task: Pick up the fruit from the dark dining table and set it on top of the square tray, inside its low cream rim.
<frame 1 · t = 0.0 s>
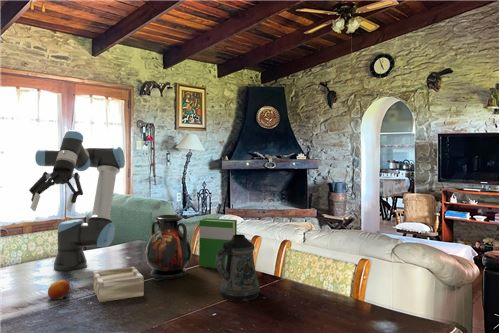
hand: (50, 209, 156), 36 cm above the table, tool tilted 35°, fingers open, 13 cm apart
square tray: (118, 292, 169), on the table
beer stein: (238, 296, 167), on the table
fruit: (59, 298, 162), on the table
hardback book: (217, 266, 210), on the table
amphora vase: (168, 275, 194), on the table
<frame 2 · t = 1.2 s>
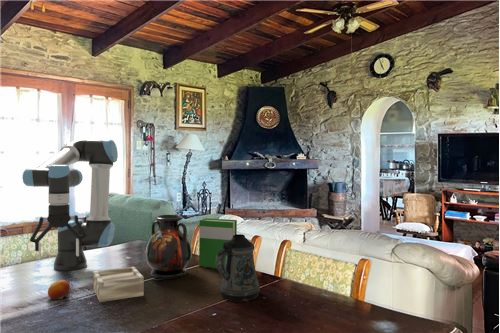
hand: (58, 257, 162), 16 cm above the table, tool pointing down, fingers open, 13 cm apart
nothing on the table moved.
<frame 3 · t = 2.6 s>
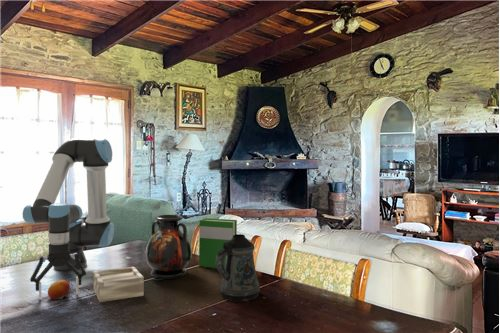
hand: (59, 295, 162), 1 cm above the table, tool pointing down, fingers open, 13 cm apart
nothing on the table moved.
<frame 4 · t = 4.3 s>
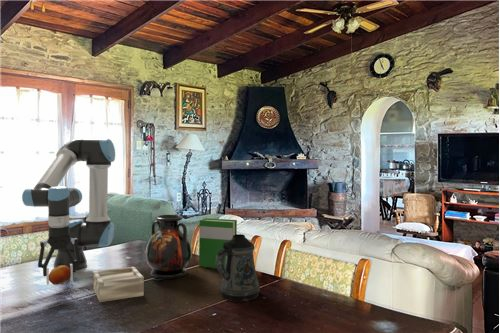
hand: (59, 282, 163), 6 cm above the table, tool pointing down, fingers closed on fruit, 8 cm apart
fruit: (60, 283, 163), point 5 cm above the table, touching gripper
everything else where it was.
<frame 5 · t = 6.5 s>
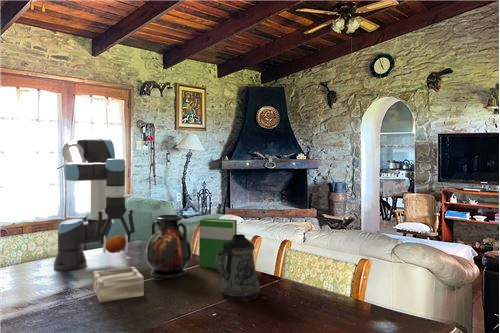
hand: (115, 251, 168), 17 cm above the table, tool pointing down, fingers closed on fruit, 8 cm apart
fruit: (115, 252, 168), point 17 cm above the table, touching gripper
everything else where it was.
when the fingers open (7 cm above the table, at t = 8.9 s): fruit drops 1 cm, resting on square tray.
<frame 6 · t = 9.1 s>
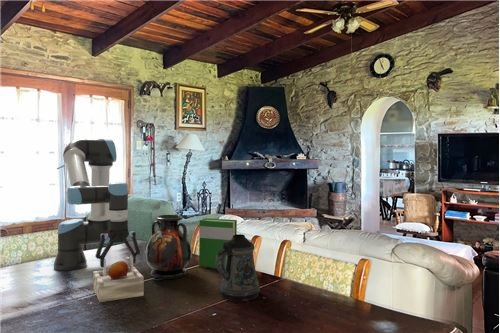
hand: (118, 272, 169), 8 cm above the table, tool pointing down, fingers open, 10 cm apart
fruit: (118, 278, 169), point 6 cm above the table, touching square tray
everything else where it was.
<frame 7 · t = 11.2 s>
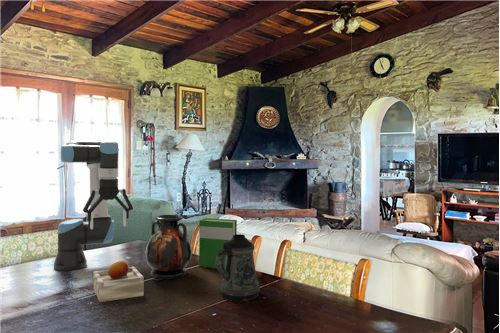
hand: (108, 227, 175), 26 cm above the table, tool pointing down, fingers open, 13 cm apart
nothing on the table moved.
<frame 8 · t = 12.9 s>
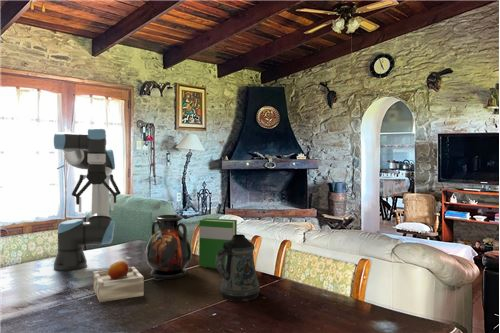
hand: (96, 211, 181), 32 cm above the table, tool pointing down, fingers open, 13 cm apart
nothing on the table moved.
at the end: fruit inside the target area on the square tray (0.2 cm from its centre), point 5.8 cm above the square tray's base; fruit touching square tray; the gripper is holding nothing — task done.
